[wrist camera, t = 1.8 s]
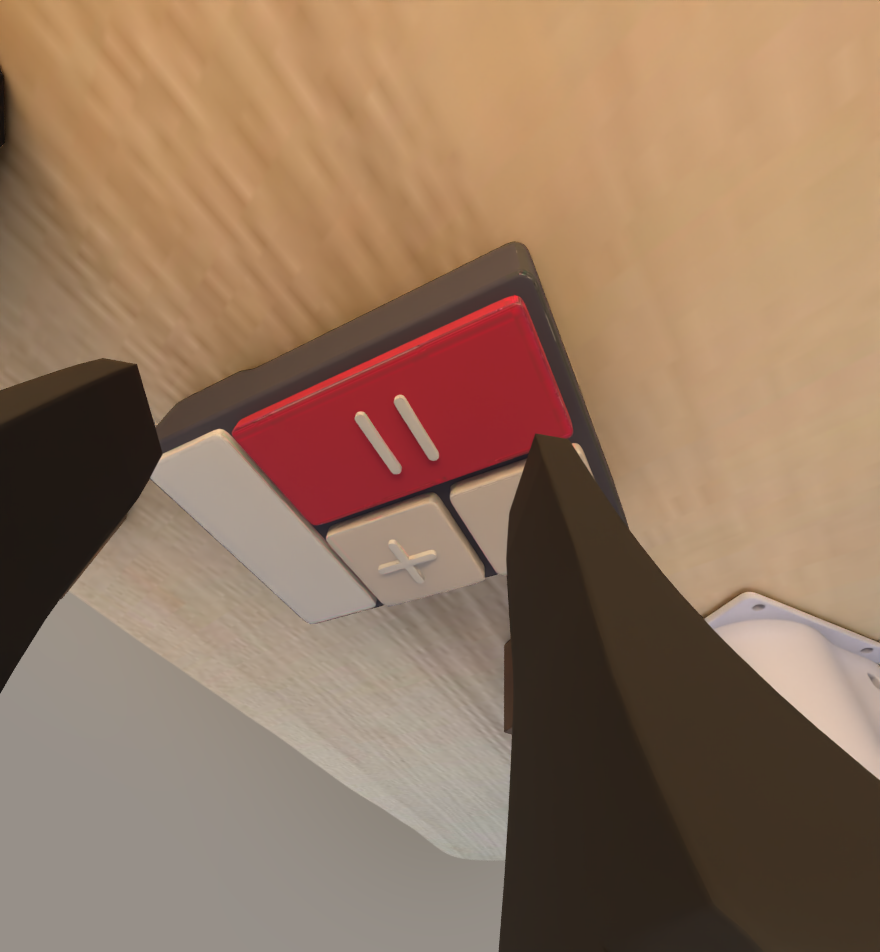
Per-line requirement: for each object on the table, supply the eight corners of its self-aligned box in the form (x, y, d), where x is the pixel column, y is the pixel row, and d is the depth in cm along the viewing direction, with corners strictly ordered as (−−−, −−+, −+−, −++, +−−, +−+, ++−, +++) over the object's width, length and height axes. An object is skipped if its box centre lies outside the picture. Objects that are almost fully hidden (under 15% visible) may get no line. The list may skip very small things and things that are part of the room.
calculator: (638, 555, 18) (304, 642, 23) (613, 479, 22) (326, 569, 26) (534, 273, 12) (111, 471, 17) (521, 228, 15) (170, 404, 20)
